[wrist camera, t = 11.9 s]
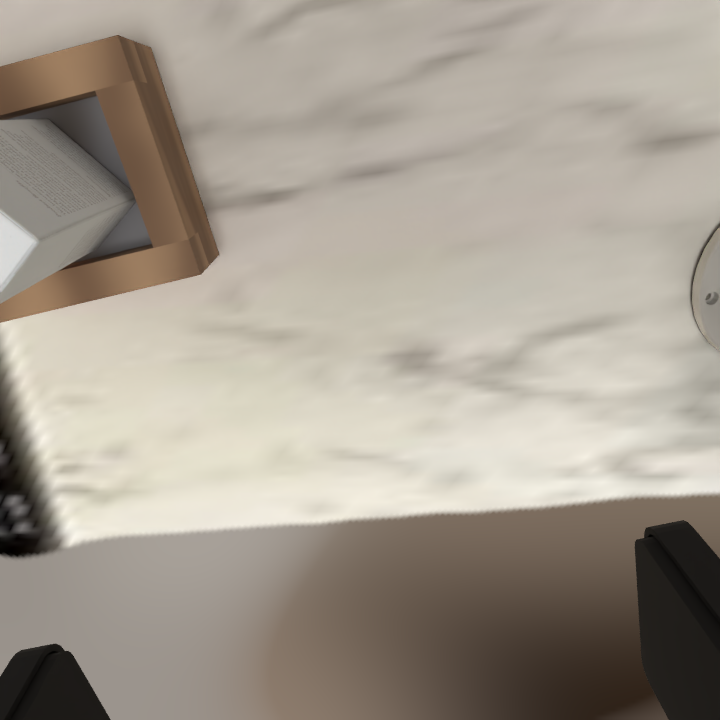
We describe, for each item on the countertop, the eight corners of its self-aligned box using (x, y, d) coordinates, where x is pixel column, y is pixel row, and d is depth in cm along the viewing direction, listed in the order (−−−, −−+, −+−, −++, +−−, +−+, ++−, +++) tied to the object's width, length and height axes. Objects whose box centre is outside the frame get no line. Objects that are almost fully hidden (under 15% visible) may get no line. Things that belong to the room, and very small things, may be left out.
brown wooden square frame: (150, 47, 33) (117, 35, 28) (219, 254, 37) (200, 274, 32) (-49, 100, 33) (-115, 97, 28) (42, 297, 38) (-2, 322, 33)
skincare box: (6, 177, 32) (-173, 207, 21) (49, 116, 31) (-115, 115, 20) (99, 253, 34) (-20, 318, 23) (143, 198, 33) (41, 239, 21)
